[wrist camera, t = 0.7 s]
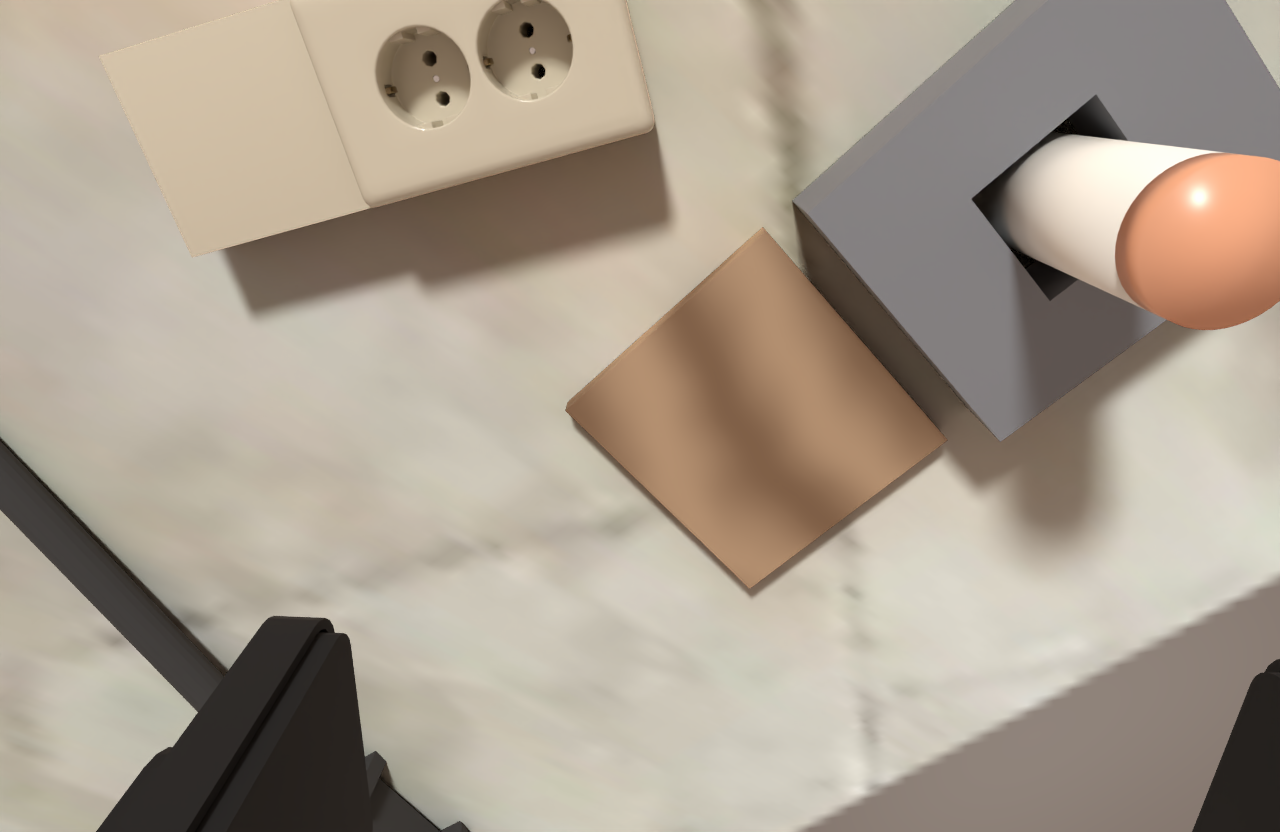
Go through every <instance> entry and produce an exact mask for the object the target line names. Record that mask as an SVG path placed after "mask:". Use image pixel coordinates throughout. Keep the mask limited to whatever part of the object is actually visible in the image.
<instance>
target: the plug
mask: <svg viewBox="0 0 1280 832" xmlns="http://www.w3.org/2000/svg"><path fill="white" fill-rule="evenodd" d="M972 201H973V202H974V203H975V205H976V206H977V207H978V208H979V210H980V211H981V212H982V214H983V215H984V216H985V218H986V219H987V220H988V221H989V223H990V224H991V225H992V227H993V228H994V229H995V231H996V232H997V233H998V234H999V236H1000V237H1001V238H1002V240H1003V241H1004V242H1005V244H1006V245H1007V246H1008V247H1010V248H1012V249H1014V250H1016V251H1018V252H1021V253H1023V254H1025V255H1027V256H1029V257H1031V258H1034V259H1036V260H1038V261H1040V262H1042V263H1044V264H1047V265H1049V266H1051V267H1053V268H1055V269H1058V270H1060V271H1062V272H1064V273H1066V274H1068V275H1071V276H1073V277H1075V278H1077V279H1079V280H1081V281H1084V282H1086V283H1088V284H1090V285H1092V286H1095V287H1097V288H1099V289H1101V290H1103V291H1105V292H1108V293H1110V294H1112V295H1114V296H1116V297H1118V298H1121V299H1123V300H1125V301H1127V302H1129V303H1132V304H1134V305H1136V306H1138V307H1140V308H1142V309H1145V310H1147V311H1149V312H1151V313H1153V314H1156V315H1158V316H1160V317H1162V318H1164V319H1166V320H1169V321H1171V322H1173V323H1175V324H1178V325H1180V326H1183V327H1187V328H1191V329H1199V330H1216V329H1222V328H1228V327H1231V326H1235V325H1238V324H1241V323H1244V322H1246V321H1249V320H1251V319H1253V318H1255V317H1257V316H1259V315H1260V314H1262V313H1264V312H1265V311H1267V310H1268V309H1270V308H1271V307H1272V306H1274V305H1275V304H1276V303H1277V302H1279V301H1280V161H1278V160H1274V159H1270V158H1266V157H1258V156H1249V155H1241V154H1233V153H1224V152H1216V151H1208V150H1199V149H1191V148H1182V147H1174V146H1166V145H1157V144H1149V143H1140V142H1132V141H1124V140H1115V139H1107V138H1098V137H1090V136H1082V135H1073V134H1065V133H1057V132H1050V133H1049V134H1048V135H1047V136H1046V137H1044V138H1043V139H1042V140H1041V141H1040V142H1038V143H1037V144H1036V145H1035V146H1034V147H1032V148H1031V149H1030V150H1029V151H1028V152H1026V153H1025V154H1024V155H1023V156H1022V157H1020V158H1019V159H1018V160H1017V161H1016V162H1014V163H1013V164H1012V165H1011V166H1010V167H1008V168H1007V169H1006V170H1005V171H1004V172H1003V173H1001V174H1000V175H999V176H998V177H997V178H995V179H994V180H993V181H992V182H991V183H989V184H988V185H987V186H986V187H985V188H983V189H982V190H981V191H980V192H979V193H977V194H976V195H975V196H974V197H973V198H972Z"/></svg>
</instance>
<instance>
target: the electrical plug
mask: <svg viewBox="0 0 1280 832" xmlns="http://www.w3.org/2000/svg"><path fill="white" fill-rule="evenodd" d="M0 510H1V511H2V512H3V513H4V514H5V515H6V516H7V517H8V518H9V519H10V520H11V521H12V522H13V523H14V524H15V525H16V526H17V527H18V528H19V529H20V530H21V531H22V532H23V533H24V534H25V535H26V537H27V538H28V539H29V540H30V541H31V542H32V543H33V544H34V545H35V546H36V547H37V548H38V549H39V550H40V551H41V552H42V553H43V554H44V555H45V556H46V557H47V558H48V559H49V560H50V561H51V562H52V563H53V564H54V565H55V566H56V567H57V568H58V569H59V570H60V571H61V572H62V573H63V574H64V575H65V576H66V577H67V578H68V580H69V581H70V582H71V583H72V584H73V585H74V586H75V587H76V588H77V589H78V590H79V591H80V592H81V593H82V594H83V595H84V596H85V597H86V598H87V599H88V600H89V601H90V602H91V603H92V604H93V605H94V606H95V607H96V608H97V609H98V610H99V611H100V612H101V613H102V614H103V615H104V616H105V617H106V618H107V619H108V620H109V621H110V623H111V624H112V625H113V626H114V627H115V628H116V629H117V630H118V631H119V632H120V633H121V634H122V635H123V636H124V637H125V638H126V639H127V640H128V641H129V642H130V643H131V644H132V645H133V646H134V647H135V648H136V649H137V650H138V651H139V652H140V653H141V654H142V655H143V656H144V657H145V658H146V659H147V660H148V661H149V662H150V663H151V664H152V665H153V667H154V668H155V669H156V670H157V671H158V672H159V673H160V674H161V675H162V676H163V677H164V678H165V679H166V680H167V681H168V682H169V683H170V684H171V685H172V686H173V687H174V688H175V689H176V690H177V691H178V692H179V693H180V694H181V695H182V696H183V697H184V698H185V699H186V700H187V701H188V702H189V703H190V704H191V705H192V706H193V707H194V708H195V710H196V711H197V712H199V711H200V709H201V708H202V707H203V705H204V704H205V702H206V701H207V700H208V698H209V697H210V696H211V694H212V693H213V691H214V690H215V689H216V687H217V686H218V685H219V683H220V682H221V680H222V679H223V678H224V676H223V675H222V674H221V673H220V672H219V671H218V670H217V668H216V667H215V666H214V665H213V664H212V663H211V662H210V661H209V660H208V659H207V658H206V657H205V656H204V655H203V654H202V653H201V652H200V651H199V650H198V648H197V647H196V646H195V645H194V644H193V643H192V642H191V641H190V640H189V639H188V638H187V637H186V636H185V635H184V634H183V633H182V632H181V631H180V630H179V628H178V627H177V626H176V625H175V624H174V623H173V622H172V621H171V620H170V619H169V618H168V617H167V616H166V615H165V614H164V613H163V612H162V611H161V610H160V608H159V607H158V606H157V605H156V604H155V603H154V602H153V601H152V600H151V599H150V598H149V597H148V596H147V595H146V594H145V593H144V592H143V591H142V590H141V588H140V587H139V586H138V585H137V584H136V583H135V582H134V581H133V580H132V579H131V578H130V577H129V576H128V575H127V574H126V573H125V572H124V571H123V570H122V568H121V567H120V566H119V565H118V564H117V563H116V562H115V561H114V560H113V559H112V558H111V557H110V556H109V555H108V554H107V553H106V552H105V551H104V550H103V548H102V547H101V546H100V545H99V544H98V543H97V542H96V541H95V540H94V539H93V538H92V537H91V536H90V535H89V534H88V533H87V532H86V531H85V529H84V528H83V527H82V526H81V525H80V524H79V523H78V522H77V521H76V520H75V519H74V518H73V517H72V516H71V515H70V514H69V513H68V512H67V511H66V509H65V508H64V507H63V506H62V505H61V504H60V503H59V502H58V501H57V500H56V499H55V498H54V497H53V496H52V495H51V494H50V493H49V492H48V491H47V489H46V488H45V487H44V486H43V485H42V484H41V483H40V482H39V481H38V480H37V479H36V478H35V477H34V476H33V475H32V474H31V473H30V472H29V471H28V469H27V468H26V467H25V466H24V465H23V464H22V463H21V462H20V461H19V460H18V459H17V458H16V457H15V456H14V455H13V454H12V453H11V452H10V451H9V449H8V448H7V447H6V446H5V445H4V444H3V443H2V442H1V441H0ZM365 764H366V772H367V780H368V788H369V796H370V804H371V812H372V820H373V832H469V831H468V830H467V828H466V827H465V826H464V825H463V824H462V823H461V822H460V821H459V822H457V823H455V824H453V825H451V826H449V827H447V828H445V829H443V830H441V831H439V830H438V829H436V828H435V827H434V826H433V825H432V824H431V823H430V822H428V821H427V820H426V819H425V818H424V817H423V816H422V815H420V814H419V813H418V812H417V811H416V810H415V809H414V808H412V807H411V806H410V805H409V804H408V803H407V802H406V801H404V800H403V799H402V798H401V797H400V796H399V795H398V794H396V793H395V792H394V791H393V790H392V789H391V788H390V787H388V786H387V785H386V784H385V783H384V782H383V781H382V780H380V779H379V777H380V775H381V772H382V770H383V768H384V766H385V764H386V761H385V760H384V759H383V758H382V757H381V756H380V755H379V754H378V753H377V752H376V751H375V752H373V753H371V754H370V755H368V756H366V757H365Z"/></svg>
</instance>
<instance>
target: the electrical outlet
mask: <svg viewBox="0 0 1280 832" xmlns="http://www.w3.org/2000/svg"><path fill="white" fill-rule="evenodd" d="M531 26H533V27H534V31H533V35H532V36H530V37H529V36H528V35H527V33H528V28H530V27H531ZM436 56H437V62H436ZM99 58H100V60H101V62H102V64H103V66H104V68H105V71H106V73H107V75H108V77H109V79H110V81H111V84H112V86H113V88H114V90H115V92H116V94H117V96H118V99H119V101H120V103H121V105H122V107H123V109H124V112H125V114H126V116H127V118H128V120H129V122H130V125H131V127H132V129H133V131H134V133H135V135H136V138H137V140H138V142H139V144H140V146H141V148H142V150H143V153H144V155H145V157H146V159H147V161H148V163H149V166H150V168H151V170H152V172H153V174H154V176H155V179H156V181H157V183H158V185H159V187H160V189H161V192H162V194H163V196H164V198H165V200H166V202H167V204H168V207H169V209H170V211H171V213H172V215H173V217H174V220H175V222H176V224H177V226H178V228H179V230H180V233H181V235H182V237H183V239H184V241H185V243H186V246H187V248H188V250H189V252H190V254H191V256H192V257H196V256H199V255H203V254H206V253H210V252H214V251H217V250H221V249H225V248H228V247H232V246H236V245H239V244H243V243H246V242H250V241H254V240H257V239H261V238H265V237H268V236H272V235H276V234H279V233H283V232H286V231H290V230H294V229H297V228H301V227H305V226H308V225H312V224H315V223H319V222H323V221H326V220H330V219H334V218H337V217H341V216H345V215H348V214H352V213H355V212H359V211H363V210H366V209H370V208H374V207H380V206H383V205H387V204H391V203H394V202H398V201H402V200H405V199H409V198H412V197H416V196H420V195H423V194H427V193H431V192H434V191H438V190H442V189H445V188H449V187H452V186H456V185H460V184H463V183H467V182H471V181H474V180H478V179H482V178H485V177H489V176H492V175H496V174H500V173H503V172H507V171H511V170H514V169H518V168H522V167H525V166H529V165H532V164H536V163H540V162H543V161H547V160H551V159H554V158H558V157H561V156H565V155H569V154H572V153H576V152H580V151H583V150H587V149H591V148H594V147H598V146H601V145H605V144H609V143H612V142H616V141H620V140H623V139H627V138H631V137H634V136H638V135H641V134H645V133H648V132H650V131H651V130H652V129H653V127H654V123H655V118H654V113H653V109H652V105H651V100H650V96H649V92H648V88H647V84H646V80H645V75H644V71H643V67H642V63H641V59H640V55H639V50H638V46H637V42H636V38H635V34H634V30H633V25H632V21H631V17H630V13H629V9H628V5H627V0H278V1H275V2H272V3H268V4H265V5H262V6H259V7H255V8H252V9H249V10H246V11H243V12H239V13H236V14H233V15H230V16H226V17H223V18H220V19H217V20H214V21H210V22H207V23H204V24H201V25H197V26H194V27H191V28H188V29H184V30H181V31H178V32H175V33H172V34H168V35H165V36H162V37H159V38H155V39H152V40H149V41H146V42H142V43H139V44H136V45H133V46H130V47H126V48H123V49H120V50H117V51H113V52H110V53H107V54H104V55H101V56H99ZM542 65H543V67H544V68H545V76H544V77H542V78H541V77H540V75H539V68H540V67H541V66H542ZM449 96H450V101H449V100H448V97H449Z"/></svg>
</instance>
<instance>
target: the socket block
mask: <svg viewBox="0 0 1280 832" xmlns="http://www.w3.org/2000/svg"><path fill="white" fill-rule="evenodd" d="M1067 118H1068V120H1069V121H1070V123H1071V124H1072V125H1073V127H1074V128H1075V130H1076V131H1077V133H1078V134H1079V135H1082V136H1090V137H1098V138H1107V139H1115V140H1124V141H1132V142H1140V143H1149V144H1157V145H1166V146H1174V147H1182V148H1191V149H1199V150H1208V151H1216V152H1224V153H1233V154H1241V155H1249V156H1258V157H1266V158H1270V159H1274V160H1278V161H1280V89H1279V87H1278V85H1277V84H1276V82H1275V80H1274V79H1273V77H1272V75H1271V74H1270V72H1269V71H1268V69H1267V67H1266V66H1265V64H1264V62H1263V61H1262V59H1261V57H1260V56H1259V54H1258V53H1257V51H1256V49H1255V48H1254V46H1253V44H1252V43H1251V41H1250V40H1249V38H1248V36H1247V35H1246V33H1245V31H1244V30H1243V28H1242V26H1241V25H1240V23H1239V22H1238V20H1237V18H1236V17H1235V15H1234V13H1233V12H1232V10H1231V8H1230V7H1229V5H1228V4H1227V2H1226V0H1015V1H1014V2H1013V3H1012V4H1011V5H1010V6H1008V7H1007V8H1006V9H1005V10H1004V11H1003V12H1002V13H1001V14H1000V15H998V16H997V17H996V18H995V19H994V20H993V21H992V22H991V23H989V24H988V25H987V26H986V27H985V28H984V29H983V30H982V31H981V32H979V33H978V34H977V35H976V36H975V37H974V38H973V39H972V40H971V41H969V42H968V43H967V44H966V45H965V46H964V47H963V48H962V49H961V50H959V51H958V52H957V53H956V54H955V55H954V56H953V57H952V58H951V59H949V60H948V61H947V62H946V63H945V64H944V65H943V66H942V67H940V68H939V69H938V70H937V71H936V72H935V73H934V74H933V75H932V76H930V77H929V78H928V79H927V80H926V81H925V82H924V83H923V84H922V85H920V86H919V87H918V88H917V89H916V90H915V91H914V92H913V93H912V94H910V95H909V96H908V97H907V98H906V99H905V100H904V101H903V102H902V103H900V104H899V105H898V106H897V107H896V108H895V109H894V110H893V111H891V112H890V113H889V114H888V115H887V116H886V117H885V118H884V119H883V120H881V121H880V122H879V123H878V124H877V125H876V126H875V127H874V128H873V129H871V130H870V131H869V132H868V133H867V134H866V135H865V136H864V137H863V138H861V139H860V140H859V141H858V142H857V143H856V144H855V145H854V146H853V147H851V148H850V149H849V150H848V151H847V152H846V153H845V154H844V155H843V156H841V157H840V158H839V159H838V160H837V161H836V162H835V163H834V164H832V165H831V166H830V167H829V168H828V169H827V170H826V171H825V172H824V173H822V174H821V175H820V176H819V177H818V178H817V179H816V180H815V181H814V182H812V183H811V184H810V185H809V186H808V187H807V188H806V189H805V190H804V191H802V192H801V193H800V194H799V195H798V196H797V197H796V198H795V199H794V200H792V201H793V202H794V203H795V205H796V206H797V207H798V208H799V209H800V211H801V212H802V213H803V214H804V215H805V216H806V218H807V219H808V220H809V221H810V222H811V224H812V225H813V226H814V227H815V228H816V229H817V231H818V232H819V233H820V234H821V235H822V237H823V238H824V239H825V240H826V241H827V242H828V244H829V245H830V246H831V247H832V248H833V250H834V251H835V252H836V253H837V254H838V255H839V257H840V258H841V259H842V260H843V261H844V262H845V264H846V265H847V266H848V267H849V268H850V270H851V271H852V272H853V273H854V274H855V275H856V277H857V278H858V279H859V280H860V281H861V283H862V284H863V285H864V286H865V287H866V288H867V290H868V291H869V292H870V293H871V294H872V296H873V297H874V298H875V299H876V300H877V301H878V303H879V304H880V305H881V306H882V307H883V309H884V310H885V311H886V312H887V313H888V314H889V316H890V317H891V318H892V319H893V320H894V321H895V323H896V324H897V325H898V326H899V327H900V329H901V330H902V331H903V332H904V333H905V334H906V336H907V337H908V338H909V339H910V340H911V342H912V343H913V344H914V345H915V346H916V347H917V349H918V350H919V351H920V352H921V353H922V355H923V356H924V357H925V358H926V359H927V360H928V362H929V363H930V364H931V365H932V366H933V368H934V369H935V370H936V371H937V372H938V373H939V375H940V376H941V377H942V378H943V379H944V380H945V382H946V383H947V384H948V385H949V386H950V388H951V389H952V390H953V391H954V392H955V393H956V395H957V396H958V397H959V398H960V399H961V401H962V402H963V403H964V404H965V405H966V406H967V408H968V409H969V410H970V411H971V412H972V413H973V414H974V415H975V416H976V417H977V418H978V419H979V420H980V421H981V422H982V423H983V424H984V425H985V426H986V427H987V429H988V430H989V431H990V432H991V433H992V434H993V435H994V436H995V437H996V438H997V439H998V440H999V441H1000V442H1001V441H1002V440H1004V439H1005V438H1006V437H1008V436H1009V435H1011V434H1012V433H1013V432H1015V431H1016V430H1017V429H1019V428H1020V427H1021V426H1023V425H1024V424H1026V423H1027V422H1028V421H1030V420H1031V419H1032V418H1034V417H1035V416H1036V415H1038V414H1039V413H1040V412H1042V411H1043V410H1045V409H1046V408H1047V407H1049V406H1050V405H1051V404H1053V403H1054V402H1055V401H1057V400H1058V399H1060V398H1061V397H1062V396H1064V395H1065V394H1066V393H1068V392H1069V391H1070V390H1072V389H1073V388H1075V387H1076V386H1077V385H1079V384H1080V383H1081V382H1083V381H1084V380H1085V379H1087V378H1088V377H1090V376H1091V375H1092V374H1094V373H1095V372H1096V371H1098V370H1099V369H1100V368H1102V367H1103V366H1104V365H1106V364H1107V363H1109V362H1110V361H1111V360H1113V359H1114V358H1115V357H1117V356H1118V355H1119V354H1121V353H1122V352H1124V351H1125V350H1126V349H1128V348H1129V347H1130V346H1132V345H1133V344H1134V343H1136V342H1137V341H1139V340H1140V339H1141V338H1143V337H1144V336H1145V335H1147V334H1148V333H1149V332H1151V331H1152V330H1154V329H1155V328H1156V327H1158V326H1159V325H1160V324H1162V323H1163V322H1164V321H1166V319H1164V318H1162V317H1160V316H1158V315H1156V314H1153V313H1151V312H1149V311H1147V310H1145V309H1142V308H1140V307H1138V306H1136V305H1134V304H1132V303H1129V302H1127V301H1125V300H1123V299H1121V298H1118V297H1116V296H1114V295H1112V294H1110V293H1108V292H1105V291H1103V290H1101V289H1099V288H1097V287H1095V286H1092V285H1090V284H1088V283H1086V282H1084V281H1081V280H1079V279H1077V278H1075V277H1073V276H1071V275H1068V274H1066V273H1064V272H1062V271H1060V270H1058V269H1055V268H1053V267H1051V266H1049V265H1047V264H1044V263H1042V262H1040V261H1038V260H1037V261H1035V262H1034V263H1033V264H1031V265H1030V266H1029V267H1028V268H1026V269H1025V268H1024V267H1023V266H1022V264H1021V263H1020V262H1019V260H1018V259H1017V258H1016V256H1015V255H1014V254H1013V253H1012V251H1011V250H1010V249H1009V247H1008V246H1007V245H1006V244H1005V242H1004V241H1003V240H1002V238H1001V237H1000V236H999V234H998V233H997V232H996V231H995V229H994V228H993V227H992V225H991V224H990V223H989V221H988V220H987V219H986V218H985V216H984V215H983V214H982V212H981V211H980V210H979V208H978V207H977V206H976V205H975V203H974V202H973V201H972V199H971V198H973V197H974V196H975V195H976V194H977V193H979V192H980V191H981V190H982V189H983V188H985V187H986V186H987V185H988V184H989V183H991V182H992V181H993V180H994V179H995V178H997V177H998V176H999V175H1000V174H1001V173H1003V172H1004V171H1005V170H1006V169H1007V168H1008V167H1010V166H1011V165H1012V164H1013V163H1014V162H1016V161H1017V160H1018V159H1019V158H1020V157H1022V156H1023V155H1024V154H1025V153H1026V152H1028V151H1029V150H1030V149H1031V148H1032V147H1034V146H1035V145H1036V144H1037V143H1038V142H1040V141H1041V140H1042V139H1043V138H1044V137H1046V136H1047V135H1048V134H1049V133H1050V132H1052V131H1053V130H1054V129H1055V128H1056V127H1057V126H1059V125H1060V124H1061V123H1062V122H1063V121H1065V120H1066V119H1067Z"/></svg>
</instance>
